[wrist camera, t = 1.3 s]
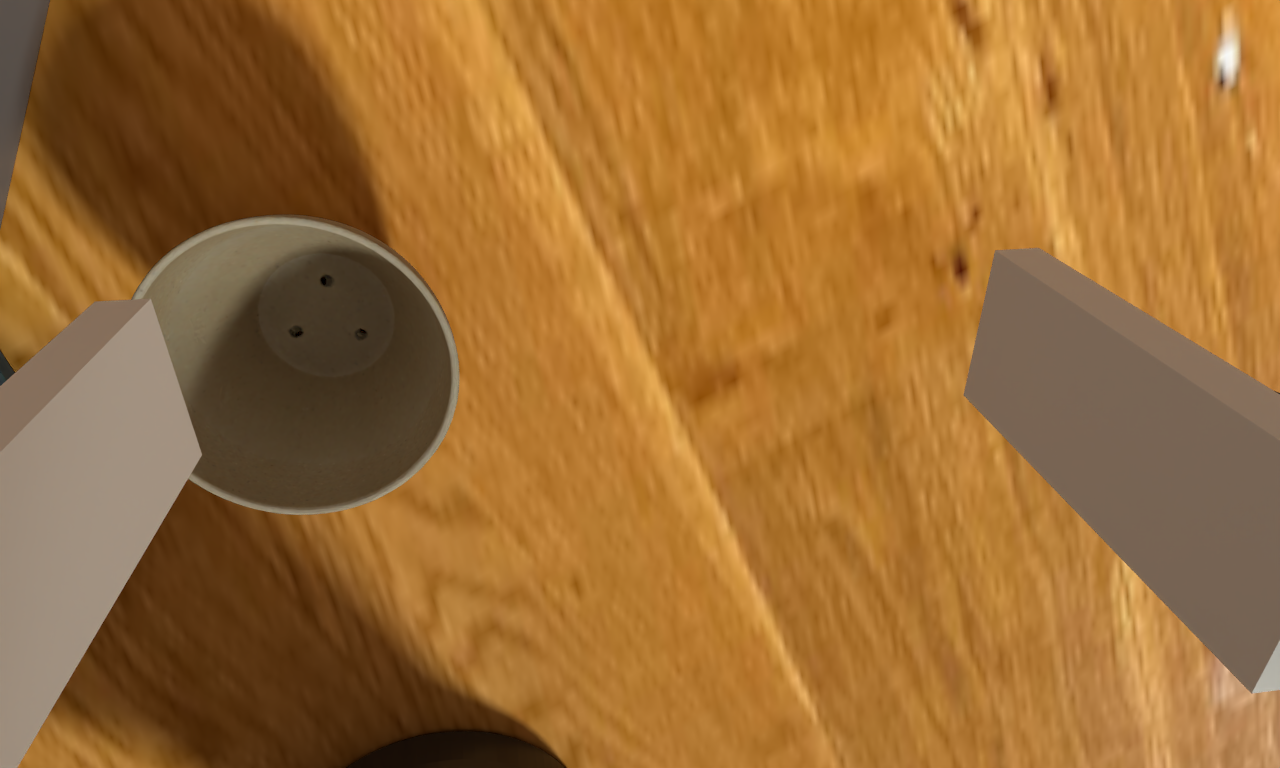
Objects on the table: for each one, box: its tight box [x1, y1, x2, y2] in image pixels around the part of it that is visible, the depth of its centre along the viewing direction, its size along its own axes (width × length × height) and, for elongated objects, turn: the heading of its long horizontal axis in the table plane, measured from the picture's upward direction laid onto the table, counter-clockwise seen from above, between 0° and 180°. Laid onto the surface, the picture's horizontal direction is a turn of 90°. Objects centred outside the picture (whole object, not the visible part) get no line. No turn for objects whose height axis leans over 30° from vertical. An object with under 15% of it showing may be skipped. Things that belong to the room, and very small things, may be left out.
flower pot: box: [131, 215, 459, 515], centre depth 29 cm, size 10×10×7 cm
